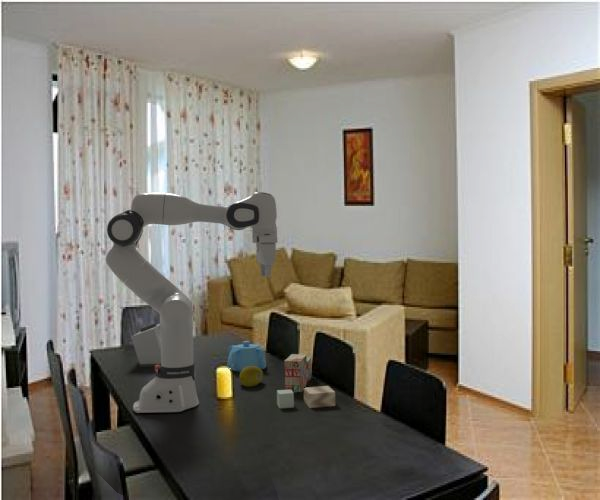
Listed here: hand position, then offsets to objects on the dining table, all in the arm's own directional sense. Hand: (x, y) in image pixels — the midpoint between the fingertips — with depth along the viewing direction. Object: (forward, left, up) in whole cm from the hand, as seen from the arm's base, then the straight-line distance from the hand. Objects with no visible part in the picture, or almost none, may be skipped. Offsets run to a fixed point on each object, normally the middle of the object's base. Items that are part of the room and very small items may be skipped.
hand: (265, 276), depth 219 cm
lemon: (-4, +20, -44) cm, 49 cm away
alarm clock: (-41, +67, -44) cm, 90 cm away
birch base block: (+16, -10, -44) cm, 48 cm away
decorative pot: (-3, +45, -44) cm, 63 cm away
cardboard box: (+14, +16, -44) cm, 49 cm away
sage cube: (+4, -10, -44) cm, 45 cm away
